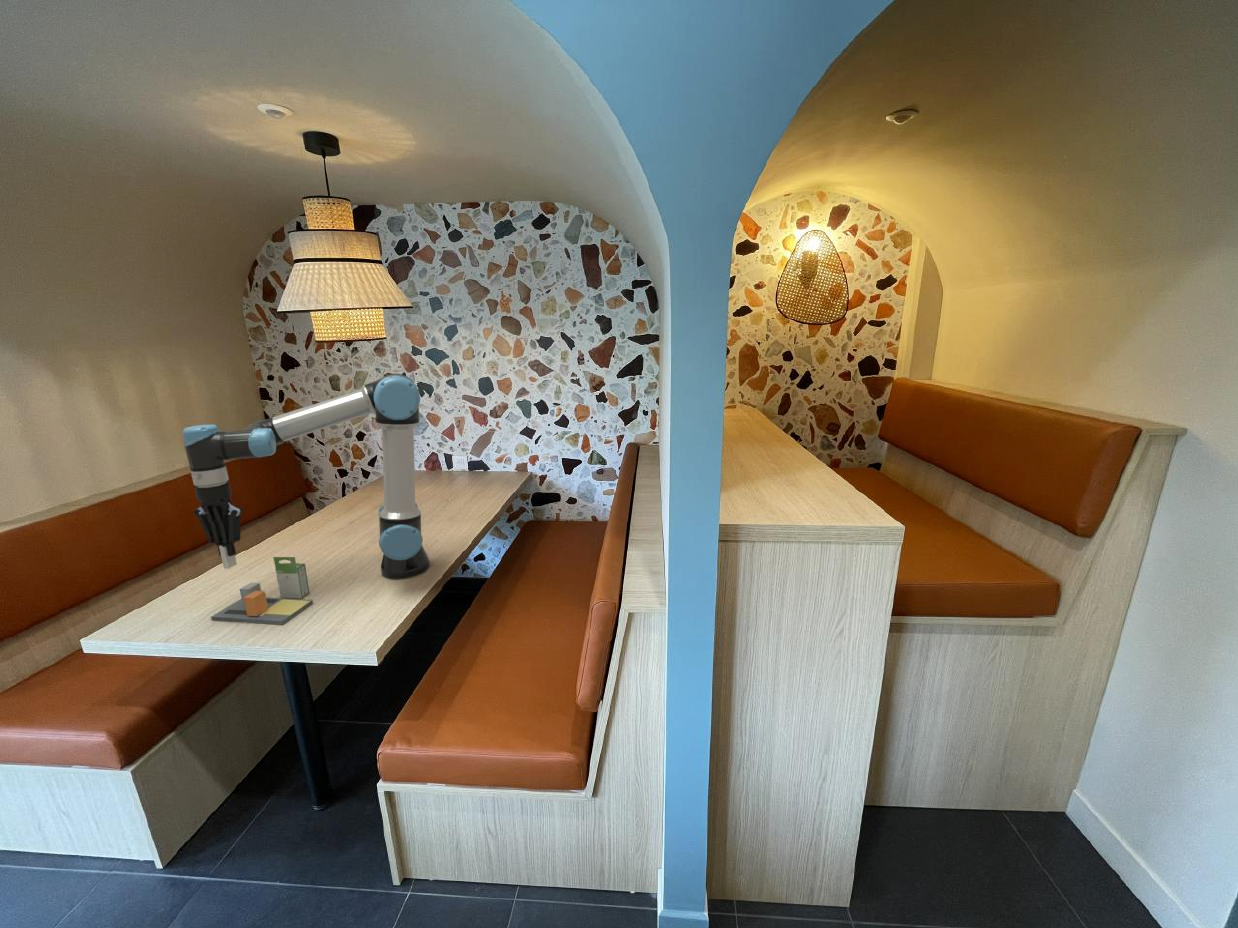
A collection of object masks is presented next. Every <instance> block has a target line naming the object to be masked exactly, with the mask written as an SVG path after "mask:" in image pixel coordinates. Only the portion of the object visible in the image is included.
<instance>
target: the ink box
mask: <svg viewBox="0 0 1238 928" xmlns="http://www.w3.org/2000/svg"><path fill="white" fill-rule="evenodd" d="M272 558H273V563H274V567H275V573H276V581H277V585H278V591H279V595H280V597H279V598H287V599H303V598H304V597H306V596H308V595H310V587H309V581H308V573H307V567H306V563H297V562H296V557H295V556H273V557H272ZM280 561H289V562H283V563H281V562H280Z"/></svg>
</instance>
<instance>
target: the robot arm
mask: <svg viewBox="0 0 1238 928" xmlns="http://www.w3.org/2000/svg"><path fill="white" fill-rule="evenodd" d="M420 403H421V394H420V391H419V388H418V387H417V385H416V384H415V382H414V381H413V380H412V379H411V378H410V377H408V376H407V375H405V374H403V373H402V374H400V373H389V374H387V375H384V376H382V378H381V377H380V378H379V379H377V380H375V381H374V380H373V381H372V382H369V383H366V384H363V386H362V387H361V389H359V390H355V391H353V392H348V393H346V394H343V395H339V396H336V397H333V398H330V399H327V400H324V401H320V402H317V403H314V404H311V405H307V406H304V407H301V408H299V409H294V410H292V411H289V412H285V413H283V414H279V415H276V416H273V417H270V418H267V419H264V420H257V421H254V422H251V423H250V424H249V425H247V426H246V427H245V428H243V429H238V430H231V431H230V430H228V431H220V430H219V428H218V426H217V425H216V424H199V425H192V426H189V427H188V426H187V427H185V428H184V429H183V430H182V438H183V443H184V444H183V447H184V450H185V454H186V456H187V462H188V465H189V469H190V473H191V479H192V483H193V486H195V487H194V491H195V497H196V500H197V501H199V502H200V504H199V505H200V506H199V507H198V508H196V509H193V511H192V512H193V514H194V515H195V516H196V518H197V519H198V520H199V521H198V522H199V523H200V525H201V527H202V530H203V532H204V534H205V536H206V539H207V540H208V542H209V543H210V544H215V546H216V547H217V551H218V555H219V556H220V557H221V561H222V565H223V568H224V569H232V568H233V567H235V566H237V565H238V562H237V559H236V554H237V551H236V547H235V546H236V545H235V543H236V542H239V541H240V540H241V515H242V514H243V508H242V507H236V506H234V502H233V501H232V499H231V496H232V495H233V493H232V488H231V487H232V486H231V484H230V482H229V480H230V478H229V477H230V476H229V474H228V469H227V465H226V461H231V460H240V459H243V460H244V459H252V458H260V459H261V458H263V457H269V456H273V455H274V454H275V453H276V452H277V445H278V444H281V443H284V442H288V441H289V440H293V439H297V438H299V437H302V436H306V435H308V434H312V433H314V432H315V433H316V432H317V431H320V430H324V429H327V428H329V427H334V426H336V425H340V424H342V423H346V422H349V421H352V420H355V419H358V418H361V417H364V416H367V415H370V414H371V415H372V414H373V415H375V424H376V425H377V426H379V427H380V429H381V441H382V442H381V443H382V444H381V446H382V447H381V448H382V472H383V473H382V474H383V501H384V502H383V503H384V504H383V505H381V506H380V507H379V508H378V519H379V524H378V525H379V526H378V527H379V540H378V546H379V548H380V550H381V552H382V553H383V555H382V559H381V562H380V563H381V564H380V574H381V576H382V577H383V578H385V579H389V580H402V579H409V578H414V577H416V576H419V575H422V574H423V573H425V572H427V571H428V570H429V569H430V566H431V564H430V558H429V556H428V554H427V551H425V548H424V546H423V535H422V512H421V509H419V508H418V503H417V502H416V478H415V477H416V475H415V474H416V473H415V465H416V464H415V428H416V427H417V426H418V425H419V424H420Z"/></svg>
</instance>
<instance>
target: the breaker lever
mask: <svg viewBox="0 0 1238 928" xmlns="http://www.w3.org/2000/svg"><path fill="white" fill-rule="evenodd" d="M266 597H267V596H266V591H265V590H261V591H254V592H252V593H250V594H249V595H247V596H245V597H244V602H245V607H246V612H247V616H258V615H260V614H261V613H263V612H264V611H266V610H267V609H268V606H267V601H266Z"/></svg>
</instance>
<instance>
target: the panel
mask: <svg viewBox="0 0 1238 928" xmlns="http://www.w3.org/2000/svg"><path fill="white" fill-rule="evenodd" d="M254 591H262V588H261V583H260V582H249V583H247V584H246V585H244V586H242V587H240V588H239V593H240V597H241V598H240V599H238V600H237V601H235V602H233V603H231V604H230V605H228V606H227V607H225V608H223V609H221V610H220V611H218V612H215V614H213V615H211V616H210V619H211V621H213V622H216V621H217V622H227V623H242V624H244V623H245V624H259V625H260V624H261V625H273V626H274V625H275V626H276V625H277V626H284V625H285V624H287V623H289V621H291V620H293V619H294V618H295V617H297V616H298V615H299V614H301V613H302V612H304V611H306V610H307V609H308V608H310V607H311V606H312V605H314V600H313V599H303V598H301V599H300V598H280V597H270V596H269V597H268V596H266V601H267V606H268V608H270V607H271V606H273V605H274V604H276V603H278V602H279V601H281V600H282V599H285V600H302V601H310V602H309V603H308V604H306V605H305V606H303V607H302V608H300V609H299V610H298V611H296V612H295V613H293V614H292V615H290V616H288V615H272V614H260V615H258V616H247V612H246V607H245V602H244V597H245V596H247V595H249V594H250V593H252V592H254Z"/></svg>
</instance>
